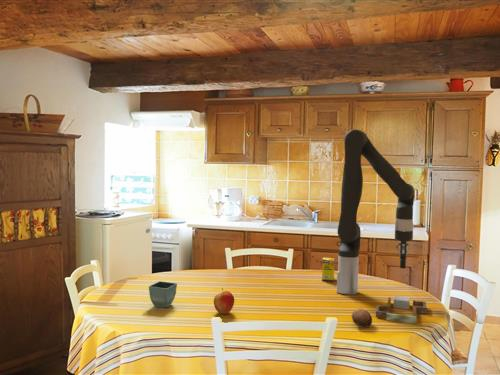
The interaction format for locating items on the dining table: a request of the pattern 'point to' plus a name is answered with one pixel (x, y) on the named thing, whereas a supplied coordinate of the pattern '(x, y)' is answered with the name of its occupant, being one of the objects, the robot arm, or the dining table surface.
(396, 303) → the block
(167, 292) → the flower pot
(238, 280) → the dining table surface
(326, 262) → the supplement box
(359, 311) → the brown oval ball
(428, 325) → the dining table surface
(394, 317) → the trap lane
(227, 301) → the apple
